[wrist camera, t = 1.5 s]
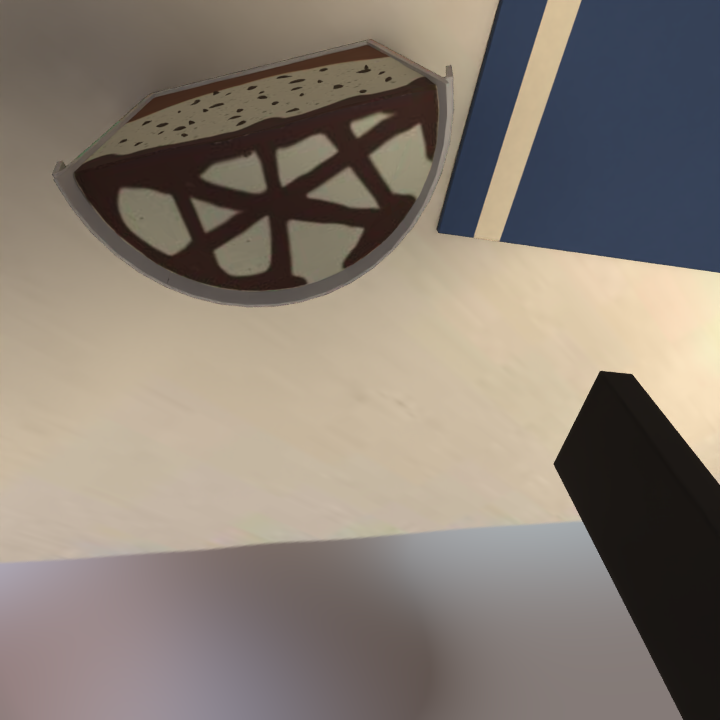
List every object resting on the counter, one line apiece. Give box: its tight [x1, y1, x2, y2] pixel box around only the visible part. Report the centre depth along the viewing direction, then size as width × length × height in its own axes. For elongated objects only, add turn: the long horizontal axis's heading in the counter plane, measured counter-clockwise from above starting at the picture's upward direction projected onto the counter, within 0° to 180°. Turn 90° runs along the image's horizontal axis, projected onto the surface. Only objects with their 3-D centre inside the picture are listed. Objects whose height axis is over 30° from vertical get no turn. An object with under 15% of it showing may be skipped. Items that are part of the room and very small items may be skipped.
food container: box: [52, 39, 454, 307], centre depth 23 cm, size 12×6×10 cm, turn 102°
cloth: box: [437, 0, 720, 273], centre depth 28 cm, size 22×12×1 cm, turn 79°
